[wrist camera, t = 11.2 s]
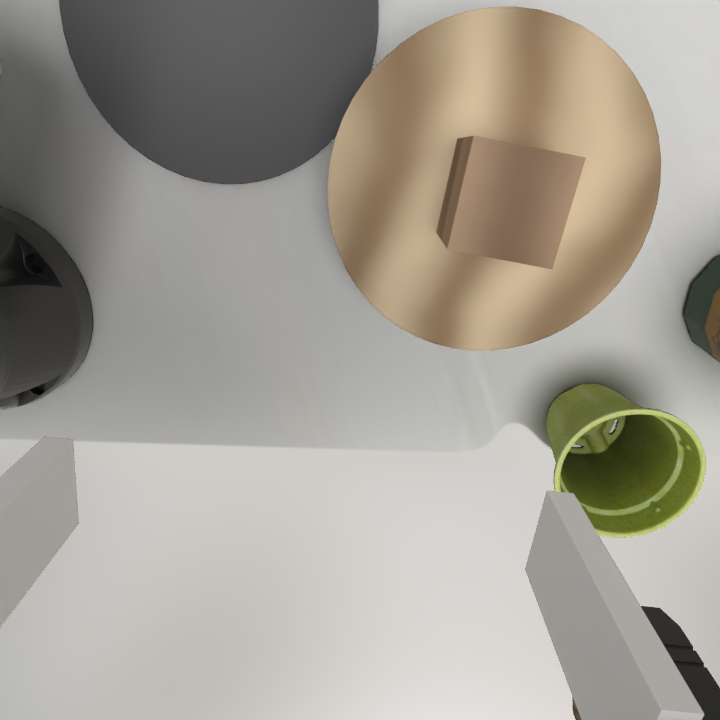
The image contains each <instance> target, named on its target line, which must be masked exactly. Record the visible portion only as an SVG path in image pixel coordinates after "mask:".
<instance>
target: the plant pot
mask: <svg viewBox="0 0 720 720" xmlns="http://www.w3.org/2000/svg"><path fill="white" fill-rule="evenodd" d="M615 419H617V420H618V424H617V427H616V430H615V431H614V433H613V434H609V431H610V430H611V428H612V426H613V424H614V420H615ZM546 430H547V433H548V437H549V440H550V443H551V447H552V451H553V454H554V458H555V461H556V465H555V470H554V489H555V491H556V492H565V493H574V495H575V497H576V498H577V500H578V502H579V503H580V505H581V507H582V508H583V510H584V512H585V513H586V515H587V517H588V518H589V520H590V522H591V524H592V525H593V527H594V529H595V530H596V532H597V534H598V535H601V536H607V537H617V538H622V537H624V538H626V537H633V536H640V535H644V534H647V533H651V532H653V531H656V530H658V529H660V528H663V527H665V526H666V525H668V524H669V523H671V522H672V521H674V520H675V519H676V518H677V517H679V516H680V515H681V514H682V513H683V512H684V511H685V510H687V509H688V508H689V507H690V505H691V504H692V503H693V501H694V500H695V498H696V497H697V495H698V492H699V491H700V489H701V487H702V484H703V481H704V476H705V472H706V457H705V452H704V449H703V446H702V443H701V441H700V439H699V438H698V436H697V434H696V433H695V432H694V431H693V429H692V428H691V427H689V426H688V425H687V424H686V423H685V422H683V421H682V420H681V419H679V418H677V417H675V416H674V415H672V414H669V413H667V412H664V411H660V410H656V409H650V408H642V407H640V406H639V405H637V404H635V403H634V402H632V401H630V400H629V399H627V398H625V397H624V396H622V395H621V394H619V393H617V392H616V391H614V390H612V389H610V388H608V387H606V386H604V385H600V384H594V383H587V384H580V385H578V386H576V387H574V388H572V389H570V390H568V391H566V392H564V393H562V394H560V395H559V396H558V397H557V398H556V399H555V400H554V401H553V403H552V404H551V406H550V408H549V410H548V413H547V417H546ZM573 444H576V445H580V446H583V447H582V448H571V447H572V446H573Z"/></svg>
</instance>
